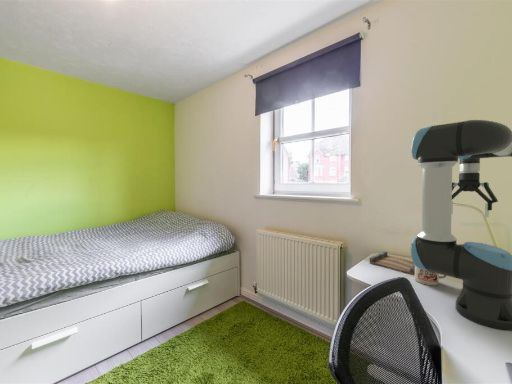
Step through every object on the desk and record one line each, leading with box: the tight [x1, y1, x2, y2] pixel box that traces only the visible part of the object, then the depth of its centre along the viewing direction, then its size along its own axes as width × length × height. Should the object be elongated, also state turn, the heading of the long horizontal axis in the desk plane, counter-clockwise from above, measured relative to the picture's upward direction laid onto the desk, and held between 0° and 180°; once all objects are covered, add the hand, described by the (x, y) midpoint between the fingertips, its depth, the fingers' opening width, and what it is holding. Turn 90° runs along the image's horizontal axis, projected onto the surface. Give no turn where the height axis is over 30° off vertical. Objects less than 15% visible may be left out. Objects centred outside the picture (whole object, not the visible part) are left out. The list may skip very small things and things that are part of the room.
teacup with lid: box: [414, 266, 447, 286], centre depth 103 cm, size 12×9×12 cm
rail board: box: [369, 251, 415, 276], centre depth 125 cm, size 18×21×3 cm
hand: (467, 215), depth 116 cm, fingers open, 13 cm apart
